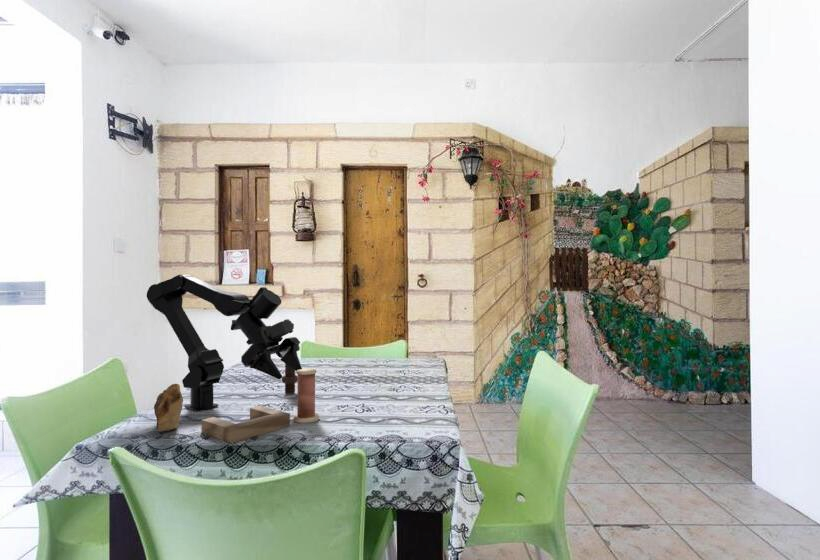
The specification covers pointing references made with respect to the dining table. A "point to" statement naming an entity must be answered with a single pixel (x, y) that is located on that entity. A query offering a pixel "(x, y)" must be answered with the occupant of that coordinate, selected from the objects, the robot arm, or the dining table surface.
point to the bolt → (290, 378)
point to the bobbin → (306, 397)
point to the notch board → (247, 425)
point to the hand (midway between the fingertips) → (291, 374)
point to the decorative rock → (168, 408)
